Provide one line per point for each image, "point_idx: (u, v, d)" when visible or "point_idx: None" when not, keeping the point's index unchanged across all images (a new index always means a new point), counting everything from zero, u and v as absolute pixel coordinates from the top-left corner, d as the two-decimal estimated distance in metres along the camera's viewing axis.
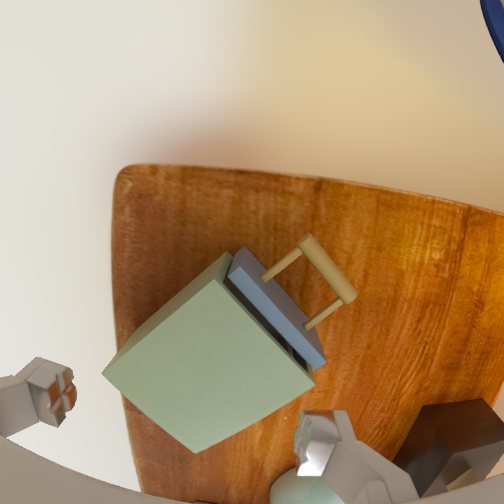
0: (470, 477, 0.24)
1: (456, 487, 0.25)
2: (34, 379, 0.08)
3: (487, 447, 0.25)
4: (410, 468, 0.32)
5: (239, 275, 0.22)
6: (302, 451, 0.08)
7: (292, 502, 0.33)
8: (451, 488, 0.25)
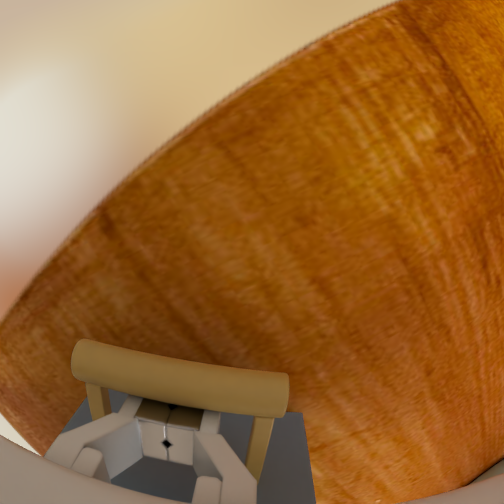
0: None
1: None
2: (145, 414, 0.08)
3: None
4: None
5: None
6: None
7: None
8: None
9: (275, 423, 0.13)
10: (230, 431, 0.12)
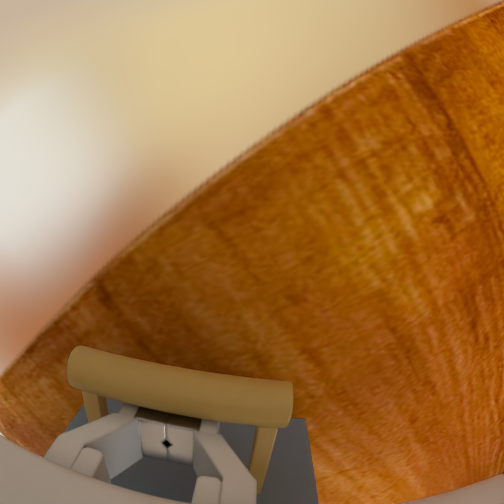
0: None
1: None
2: (145, 414, 0.08)
3: None
4: None
5: None
6: None
7: None
8: None
9: (277, 430, 0.13)
10: (231, 438, 0.12)
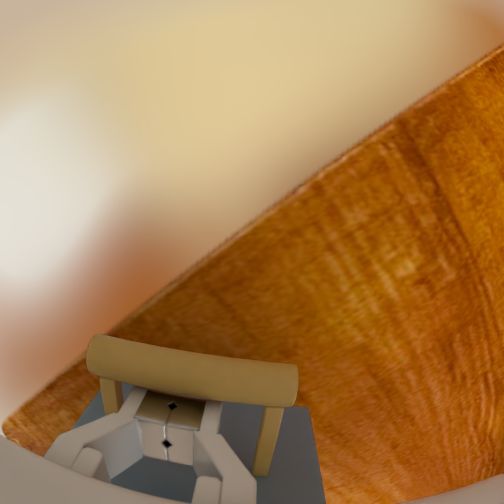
0: None
1: None
2: (145, 414, 0.08)
3: None
4: None
5: None
6: None
7: None
8: None
9: (282, 417, 0.14)
10: (239, 425, 0.13)
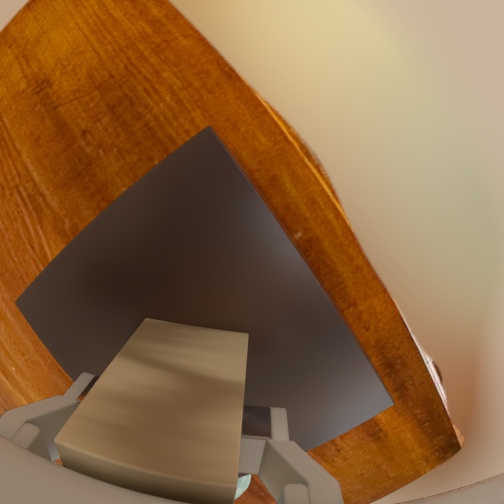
0: None
1: None
2: None
3: (95, 234, 0.11)
4: None
5: None
6: None
7: None
8: None
9: None
10: None
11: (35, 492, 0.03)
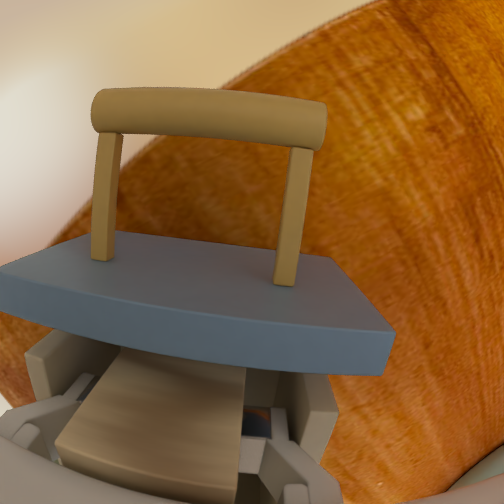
0: None
1: None
2: None
3: None
4: None
5: (3, 290, 0.07)
6: None
7: None
8: None
9: (303, 258, 0.13)
10: (252, 257, 0.12)
11: (35, 492, 0.03)
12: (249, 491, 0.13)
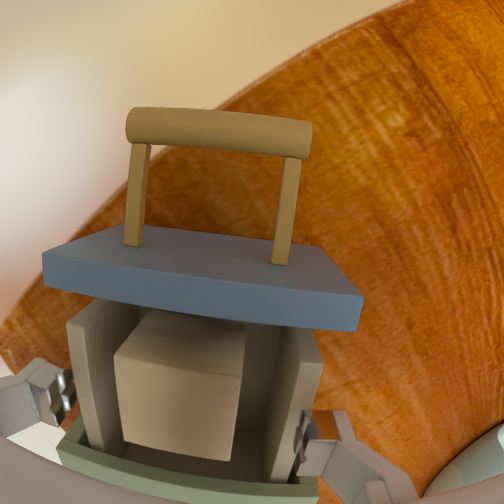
0: None
1: None
2: (34, 379, 0.08)
3: None
4: None
5: (53, 268, 0.09)
6: (302, 451, 0.08)
7: None
8: None
9: (296, 247, 0.15)
10: (254, 245, 0.14)
11: (35, 492, 0.03)
12: (251, 458, 0.15)
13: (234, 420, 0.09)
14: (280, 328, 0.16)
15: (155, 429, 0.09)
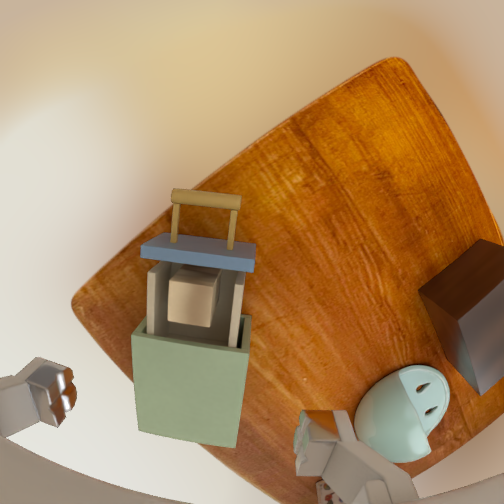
0: None
1: None
2: (34, 379, 0.08)
3: (498, 288, 0.26)
4: (452, 349, 0.34)
5: (145, 250, 0.28)
6: (302, 451, 0.08)
7: (372, 440, 0.37)
8: None
9: (242, 243, 0.34)
10: (223, 242, 0.33)
11: (35, 492, 0.03)
12: None
13: (211, 305, 0.28)
14: None
15: (181, 311, 0.28)
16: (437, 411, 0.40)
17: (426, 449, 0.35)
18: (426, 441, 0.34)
